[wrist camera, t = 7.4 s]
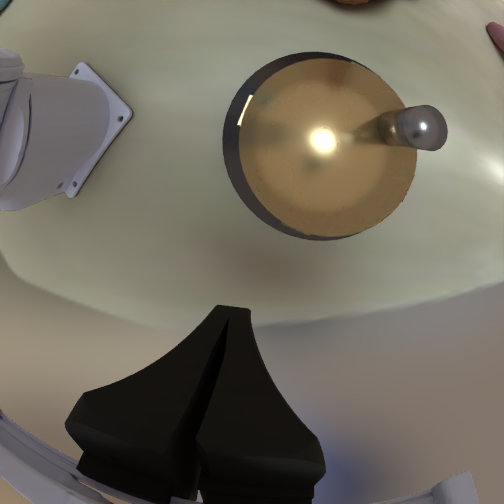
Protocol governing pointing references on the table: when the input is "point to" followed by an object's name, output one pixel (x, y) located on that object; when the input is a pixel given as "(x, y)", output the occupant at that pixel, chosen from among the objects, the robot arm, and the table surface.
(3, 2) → the sugar bowl
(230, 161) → the base plate
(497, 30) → the video game controller
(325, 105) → the round lid with handle
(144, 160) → the table surface
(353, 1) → the pastry
